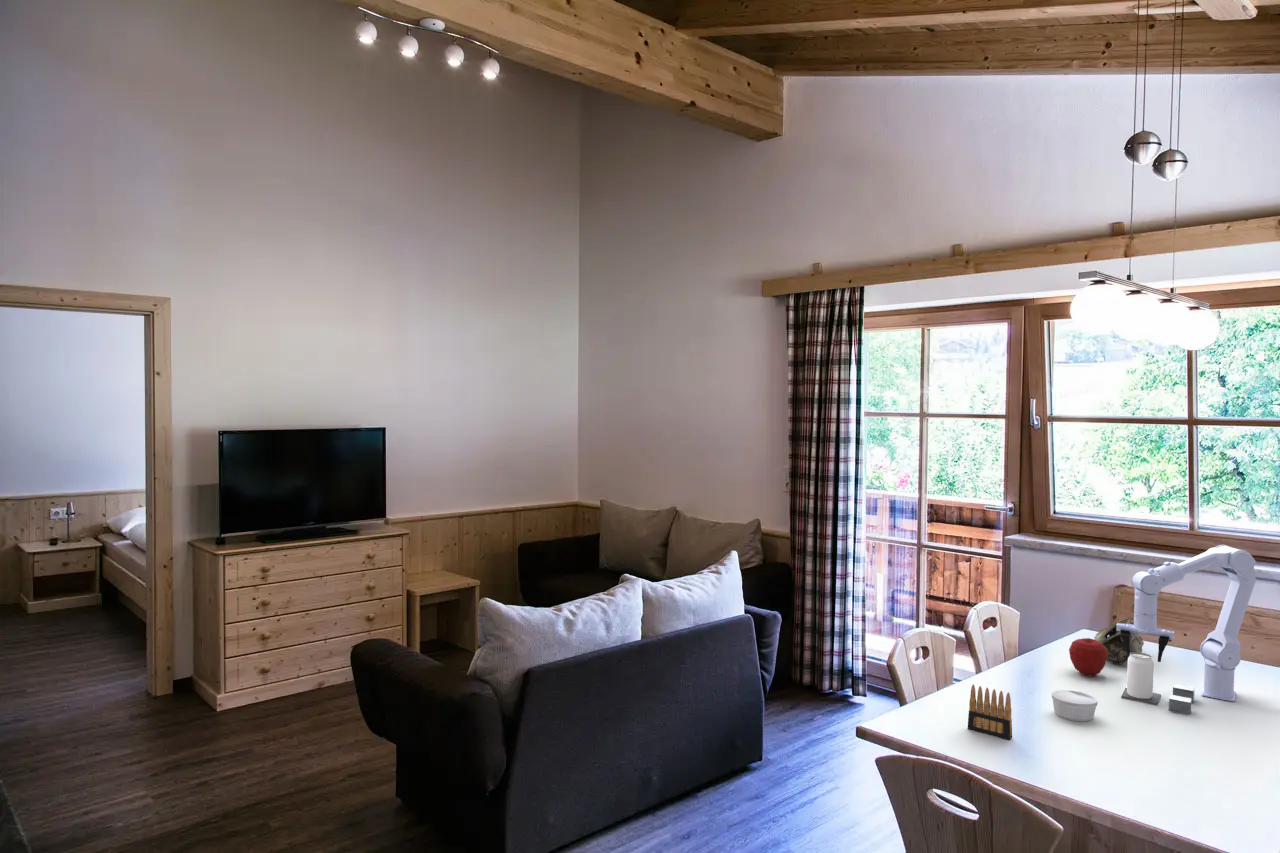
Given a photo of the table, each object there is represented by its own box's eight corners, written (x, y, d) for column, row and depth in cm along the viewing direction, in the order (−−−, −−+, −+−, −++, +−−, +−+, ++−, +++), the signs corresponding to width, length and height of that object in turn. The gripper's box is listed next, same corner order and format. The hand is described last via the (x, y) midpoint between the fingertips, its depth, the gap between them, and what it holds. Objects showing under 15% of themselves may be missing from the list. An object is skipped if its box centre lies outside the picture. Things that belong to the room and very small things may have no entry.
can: (1156, 700, 239) (1157, 659, 239) (1131, 698, 240) (1132, 657, 240) (1147, 692, 245) (1148, 652, 245) (1123, 691, 247) (1124, 651, 246)
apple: (1071, 666, 271) (1072, 630, 271) (1109, 673, 265) (1110, 636, 265) (1065, 675, 262) (1066, 638, 262) (1104, 682, 256) (1105, 644, 256)
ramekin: (1102, 715, 229) (1102, 696, 229) (1090, 727, 221) (1091, 707, 221) (1058, 705, 237) (1058, 686, 237) (1045, 715, 229) (1046, 696, 229)
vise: (1174, 693, 247) (1174, 682, 247) (1194, 697, 244) (1195, 685, 244) (1168, 710, 233) (1169, 698, 233) (1190, 715, 230) (1190, 702, 230)
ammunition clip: (1012, 738, 213) (1013, 692, 213) (1010, 740, 212) (1011, 694, 211) (969, 727, 220) (970, 682, 220) (967, 729, 219) (968, 684, 218)
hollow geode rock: (1111, 682, 270) (1149, 656, 263) (1081, 650, 276) (1117, 623, 268) (1128, 659, 292) (1164, 634, 284) (1100, 629, 297) (1134, 604, 290)
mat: (1125, 689, 250) (1125, 687, 250) (1160, 696, 245) (1160, 694, 245) (1121, 697, 243) (1121, 695, 243) (1157, 705, 237) (1157, 702, 237)
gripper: (1115, 611, 247) (1114, 657, 248) (1173, 620, 239) (1171, 666, 239) (1118, 607, 253) (1117, 651, 253) (1175, 615, 244) (1173, 660, 245)
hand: (1144, 658), depth 247 cm, fingers open, 7 cm apart
